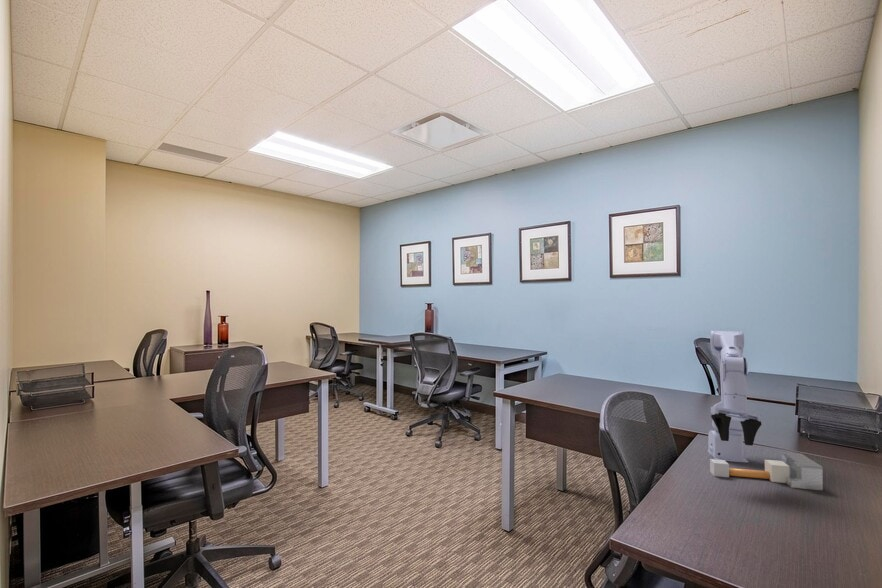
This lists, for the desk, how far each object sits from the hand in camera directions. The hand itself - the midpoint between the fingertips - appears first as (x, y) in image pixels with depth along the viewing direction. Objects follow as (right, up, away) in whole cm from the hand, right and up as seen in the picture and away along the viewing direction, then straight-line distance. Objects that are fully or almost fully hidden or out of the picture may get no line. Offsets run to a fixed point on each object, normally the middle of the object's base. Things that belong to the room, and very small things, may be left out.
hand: (736, 443), depth 121 cm
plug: (+7, -12, +4) cm, 14 cm away
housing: (+19, -12, +1) cm, 22 cm away
